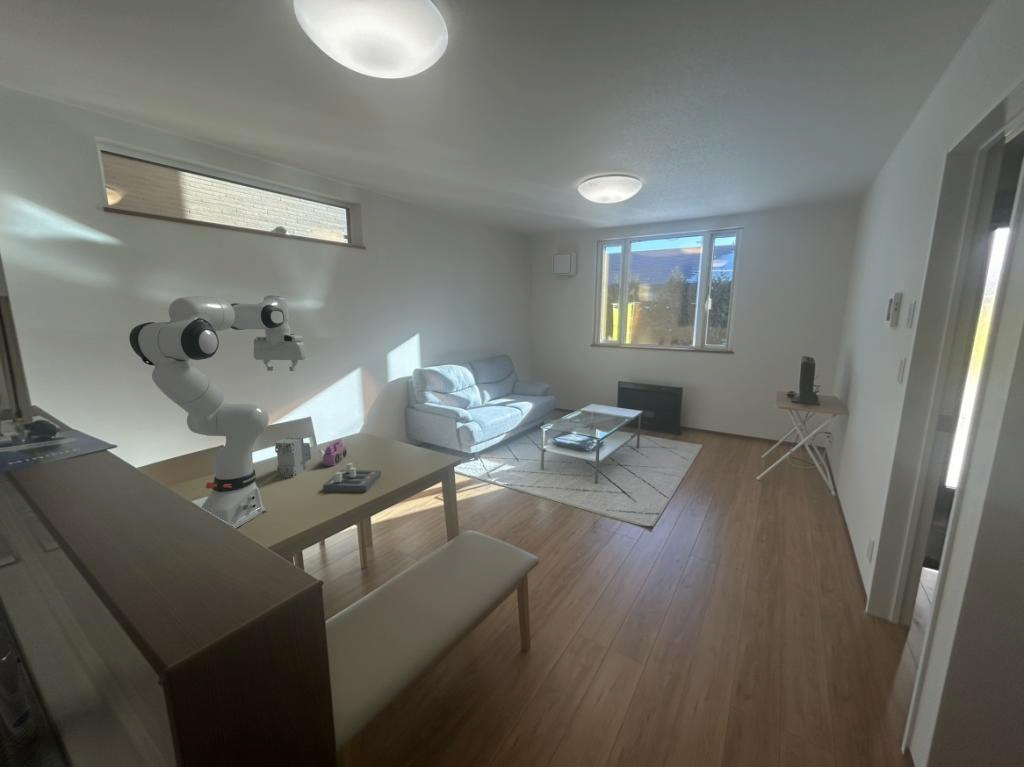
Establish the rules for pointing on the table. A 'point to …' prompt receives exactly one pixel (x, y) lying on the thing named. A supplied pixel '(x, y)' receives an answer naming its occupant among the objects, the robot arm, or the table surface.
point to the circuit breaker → (292, 456)
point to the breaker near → (338, 476)
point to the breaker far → (349, 465)
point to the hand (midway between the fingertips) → (281, 370)
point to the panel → (353, 481)
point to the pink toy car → (334, 453)
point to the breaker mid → (352, 472)
